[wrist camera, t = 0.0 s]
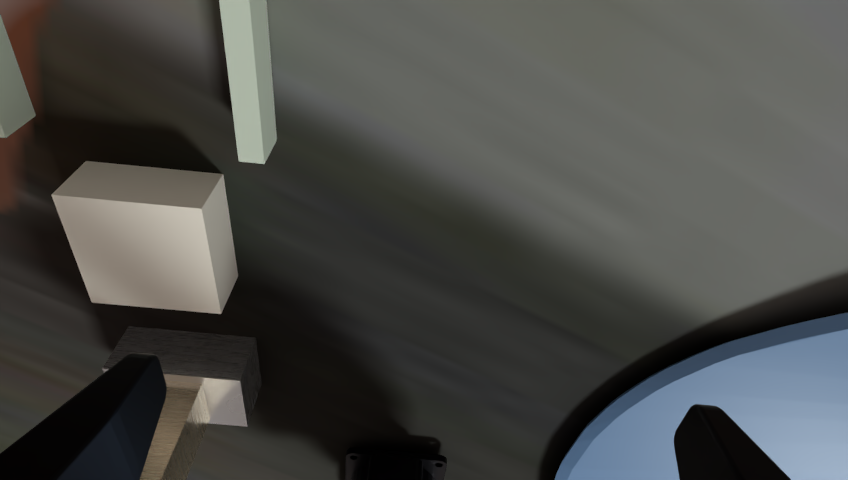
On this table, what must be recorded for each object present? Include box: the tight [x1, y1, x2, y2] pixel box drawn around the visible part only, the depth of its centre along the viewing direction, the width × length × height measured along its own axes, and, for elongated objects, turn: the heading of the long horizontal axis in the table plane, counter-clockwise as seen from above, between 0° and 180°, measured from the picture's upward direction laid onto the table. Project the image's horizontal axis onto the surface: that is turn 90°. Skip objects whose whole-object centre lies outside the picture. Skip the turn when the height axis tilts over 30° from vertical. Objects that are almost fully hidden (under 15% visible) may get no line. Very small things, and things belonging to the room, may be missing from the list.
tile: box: [52, 161, 238, 314], centre depth 26 cm, size 6×6×3 cm
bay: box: [0, 0, 277, 164], centre depth 20 cm, size 9×11×2 cm
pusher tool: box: [102, 326, 262, 480], centre depth 29 cm, size 4×7×10 cm, turn 85°
